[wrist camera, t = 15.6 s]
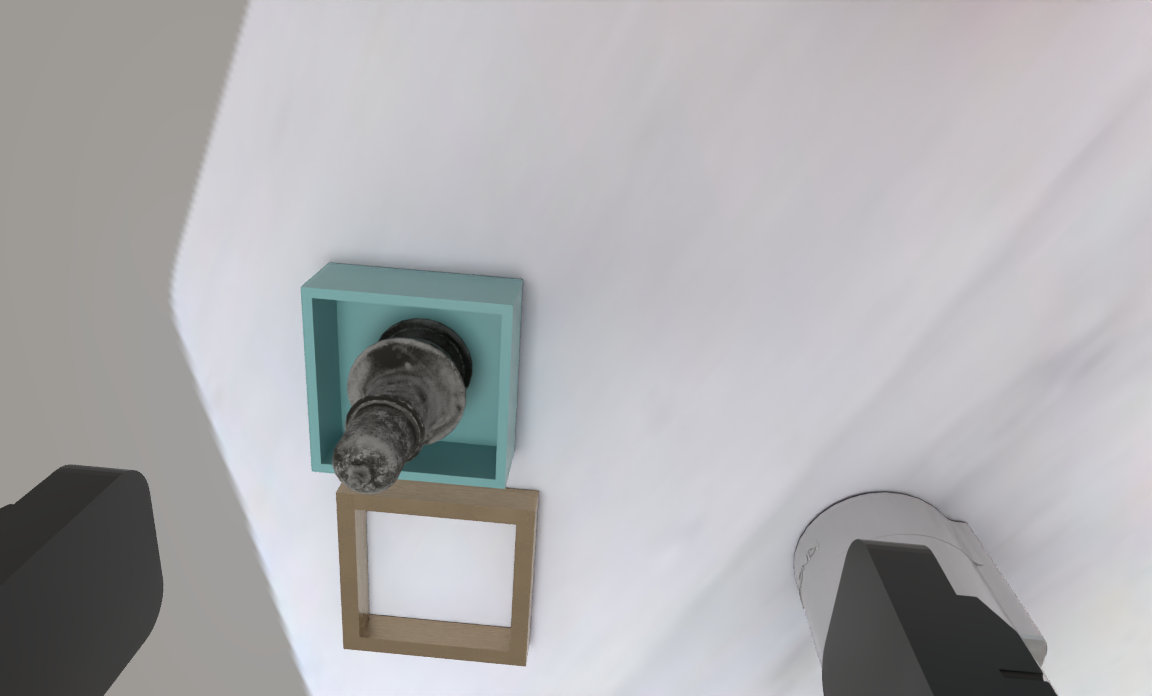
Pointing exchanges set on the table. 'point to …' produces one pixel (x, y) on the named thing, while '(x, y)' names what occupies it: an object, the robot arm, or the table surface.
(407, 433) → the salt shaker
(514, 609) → the socket collar
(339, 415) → the bin
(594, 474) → the table surface
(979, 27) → the table surface
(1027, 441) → the table surface
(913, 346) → the table surface
